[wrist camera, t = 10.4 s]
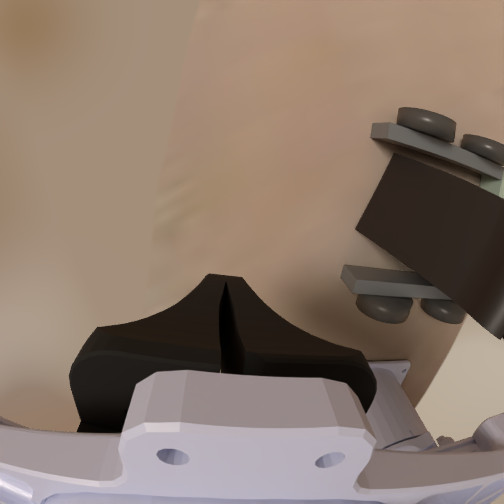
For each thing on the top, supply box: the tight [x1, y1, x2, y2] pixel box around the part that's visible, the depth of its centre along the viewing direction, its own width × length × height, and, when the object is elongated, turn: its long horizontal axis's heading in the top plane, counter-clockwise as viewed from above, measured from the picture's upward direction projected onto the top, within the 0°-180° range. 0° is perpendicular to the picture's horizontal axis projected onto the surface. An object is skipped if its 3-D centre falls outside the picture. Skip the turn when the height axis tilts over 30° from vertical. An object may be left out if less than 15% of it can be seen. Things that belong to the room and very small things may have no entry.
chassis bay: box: [341, 107, 504, 324], centre depth 19 cm, size 14×12×4 cm
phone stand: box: [355, 153, 504, 340], centre depth 16 cm, size 9×6×12 cm, turn 64°
